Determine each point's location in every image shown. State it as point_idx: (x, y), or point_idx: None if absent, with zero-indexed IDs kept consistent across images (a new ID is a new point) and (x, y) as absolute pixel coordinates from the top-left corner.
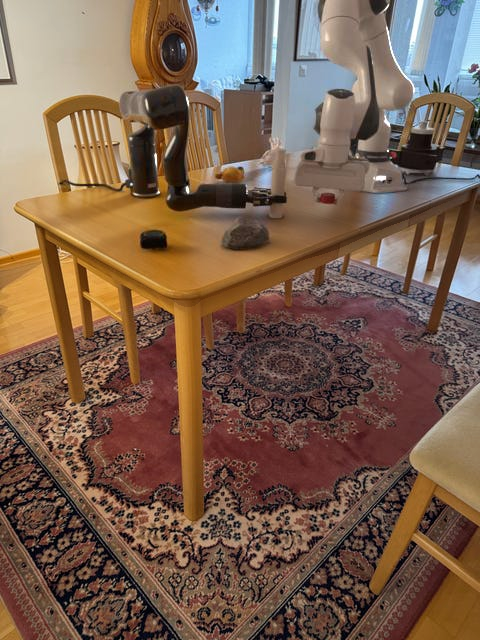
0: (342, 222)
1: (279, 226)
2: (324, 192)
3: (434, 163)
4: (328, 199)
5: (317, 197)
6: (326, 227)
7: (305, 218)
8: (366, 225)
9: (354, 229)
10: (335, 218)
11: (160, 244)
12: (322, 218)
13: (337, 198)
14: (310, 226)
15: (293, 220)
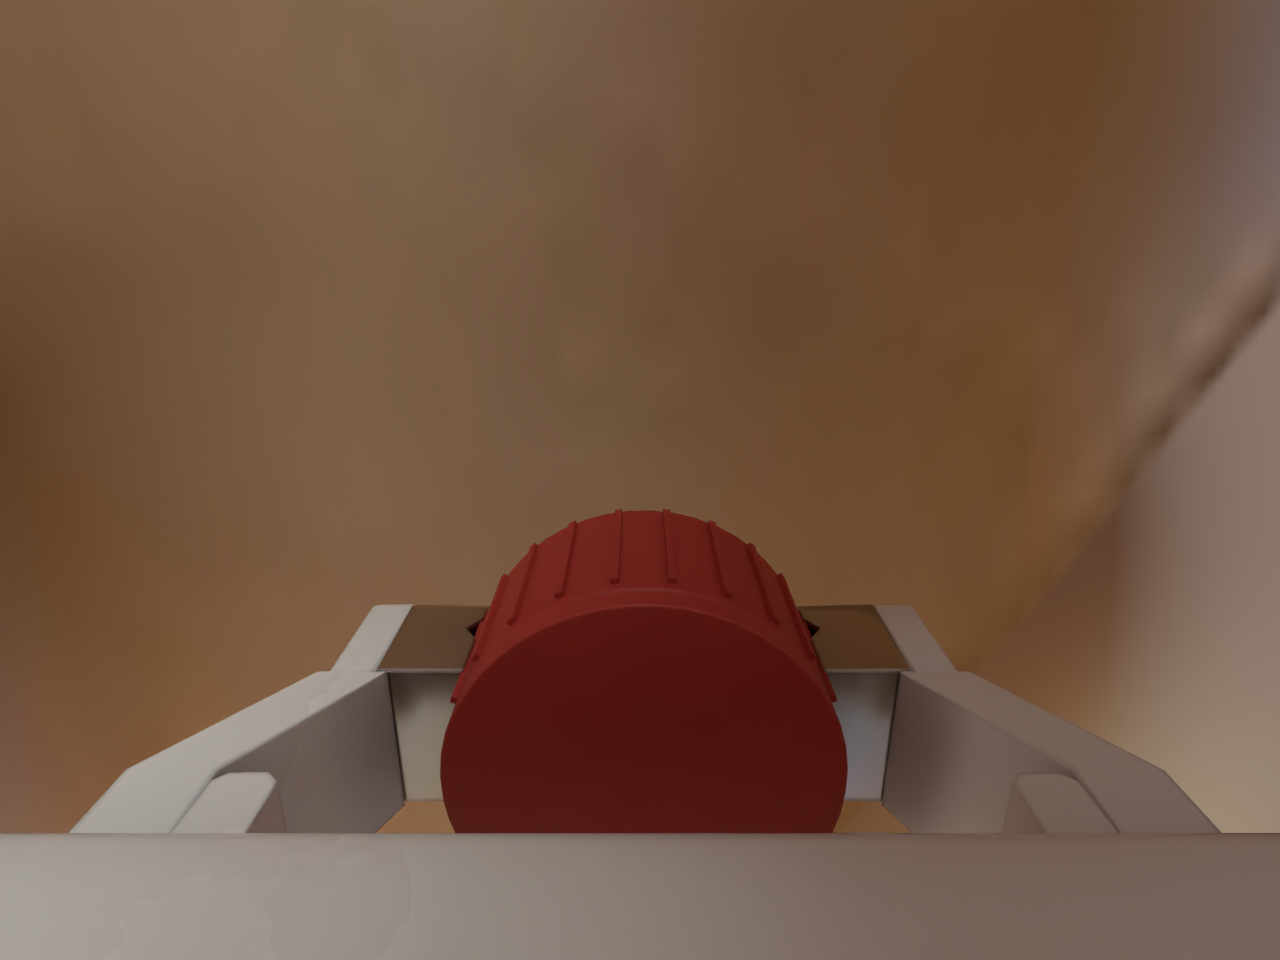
0: (903, 279)
1: (131, 717)
2: (511, 652)
3: None
4: None
5: (402, 795)
6: None
7: (314, 278)
8: (1271, 301)
9: (1057, 536)
10: (785, 89)
11: None
12: (571, 175)
13: (903, 814)
14: (480, 603)
15: (187, 439)
